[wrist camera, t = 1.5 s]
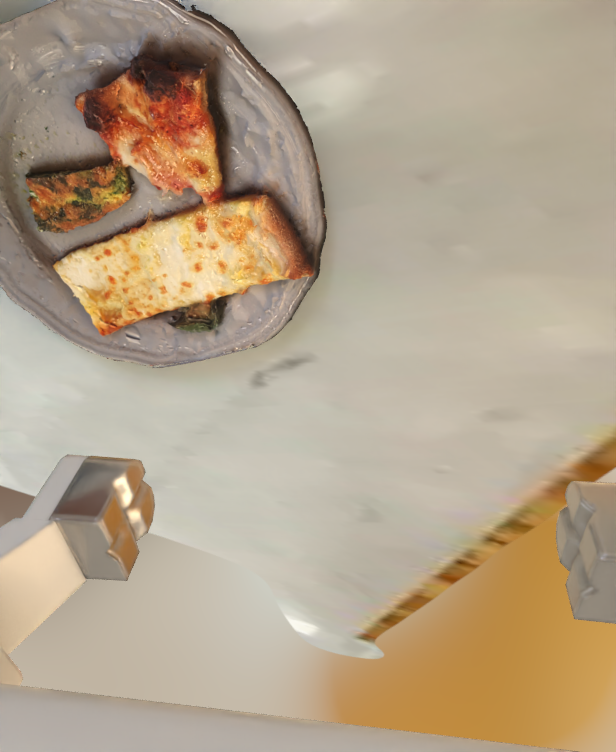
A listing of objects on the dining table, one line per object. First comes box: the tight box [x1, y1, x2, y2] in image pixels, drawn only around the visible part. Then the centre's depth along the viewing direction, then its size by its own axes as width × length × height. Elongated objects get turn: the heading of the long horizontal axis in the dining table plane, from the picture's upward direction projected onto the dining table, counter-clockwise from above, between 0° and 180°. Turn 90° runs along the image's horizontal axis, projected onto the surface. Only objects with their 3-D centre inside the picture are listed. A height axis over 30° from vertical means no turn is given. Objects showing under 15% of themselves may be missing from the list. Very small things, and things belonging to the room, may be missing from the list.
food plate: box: [0, 0, 327, 368], centre depth 37 cm, size 25×23×4 cm
